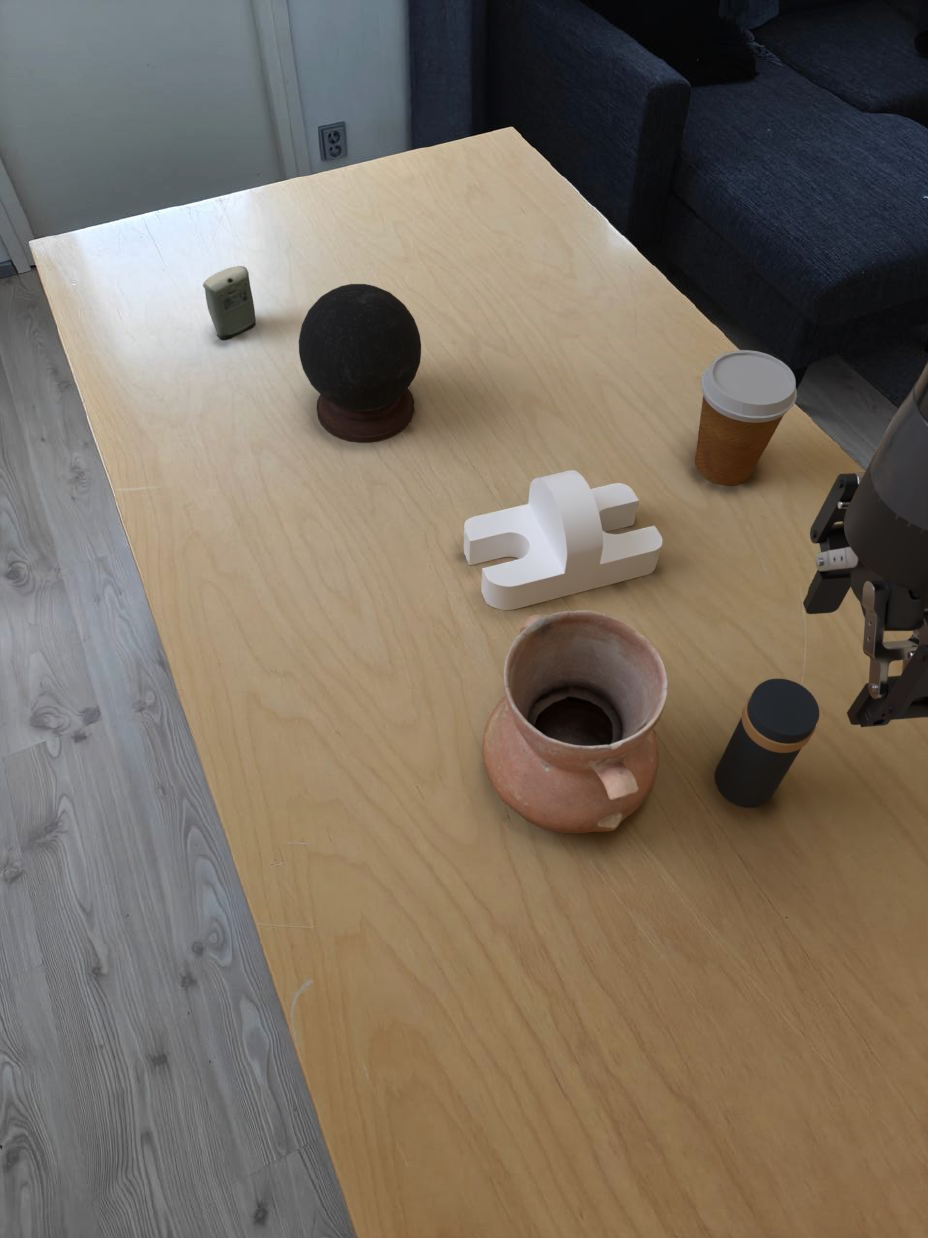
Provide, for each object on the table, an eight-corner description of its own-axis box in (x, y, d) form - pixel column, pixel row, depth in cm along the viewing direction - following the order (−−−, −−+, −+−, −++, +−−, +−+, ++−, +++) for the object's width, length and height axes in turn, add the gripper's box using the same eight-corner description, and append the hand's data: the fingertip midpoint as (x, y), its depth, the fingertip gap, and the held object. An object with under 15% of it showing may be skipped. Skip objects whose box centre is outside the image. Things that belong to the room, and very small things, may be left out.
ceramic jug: (687, 831, 76) (728, 745, 64) (520, 883, 73) (533, 802, 61) (601, 658, 86) (623, 558, 75) (452, 698, 83) (452, 599, 72)
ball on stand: (443, 394, 108) (442, 279, 97) (386, 463, 101) (378, 348, 89) (347, 360, 112) (335, 246, 100) (286, 425, 105) (265, 309, 93)
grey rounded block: (245, 348, 113) (232, 290, 107) (205, 340, 114) (191, 282, 108) (263, 321, 117) (252, 263, 110) (224, 314, 117) (212, 256, 111)
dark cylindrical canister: (766, 751, 80) (809, 674, 71) (784, 807, 77) (831, 734, 67) (706, 755, 80) (741, 678, 70) (721, 812, 77) (760, 739, 67)
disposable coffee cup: (663, 451, 103) (685, 362, 93) (731, 426, 106) (760, 337, 96) (714, 507, 98) (743, 419, 88) (785, 478, 101) (821, 390, 91)
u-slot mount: (491, 615, 89) (495, 546, 81) (459, 544, 94) (460, 473, 86) (661, 571, 92) (680, 501, 85) (621, 505, 98) (636, 434, 90)
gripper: (1092, 585, 42) (941, 756, 55) (962, 383, 51) (858, 572, 64) (933, 595, 42) (818, 766, 55) (829, 390, 50) (751, 579, 63)
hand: (840, 661), depth 59 cm, fingers open, 8 cm apart
